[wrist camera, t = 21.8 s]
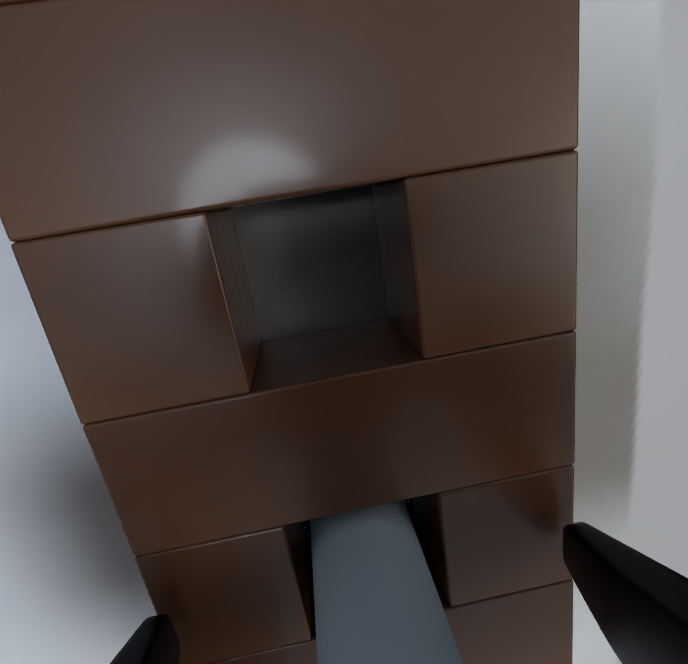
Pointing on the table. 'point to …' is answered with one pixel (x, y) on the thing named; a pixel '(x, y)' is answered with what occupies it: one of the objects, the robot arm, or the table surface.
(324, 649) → the tube grey
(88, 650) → the table surface
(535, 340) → the rack
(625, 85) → the table surface
